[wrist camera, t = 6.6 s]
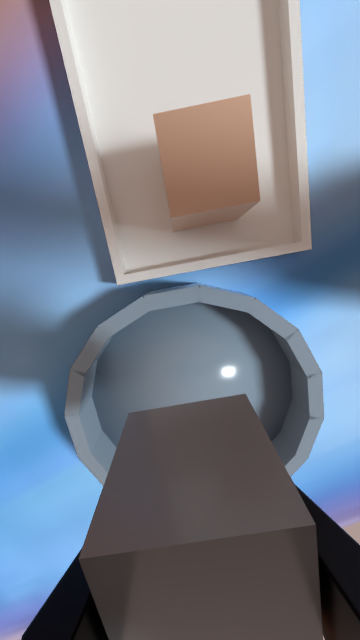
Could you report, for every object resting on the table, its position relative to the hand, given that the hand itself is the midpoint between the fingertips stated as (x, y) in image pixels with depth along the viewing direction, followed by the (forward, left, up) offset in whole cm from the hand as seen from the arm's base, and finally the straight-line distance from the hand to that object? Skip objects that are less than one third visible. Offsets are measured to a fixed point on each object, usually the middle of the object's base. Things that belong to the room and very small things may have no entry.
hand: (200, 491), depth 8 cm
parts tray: (-3, -16, -11) cm, 20 cm away
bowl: (0, +3, -11) cm, 11 cm away
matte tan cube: (-3, -12, -11) cm, 16 cm away
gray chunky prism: (0, 0, -2) cm, 2 cm away
